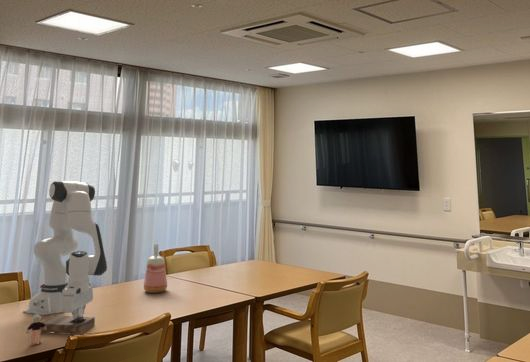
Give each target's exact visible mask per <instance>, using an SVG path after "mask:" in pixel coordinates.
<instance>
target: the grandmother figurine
mask: <svg viewBox="0 0 530 362" xmlns="http://www.w3.org/2000/svg"><path fill="white" fill-rule="evenodd" d="M40 320H42V316H41V315H40V314H34V315H33V316H32V321H33V322H32V323H31V324H29V326H28V327H27V329H26V331H25V334H29V332H30V339H29V340H30V341H29V342H30V343H29V345H34V346H35V345H36V344H38V343H41V337H42V336H41V335H42V332H41V329H40V327H43V328H44V330H46V329H47V328H46V326H45V324H44V323H42V322H43V321H40ZM41 344H42V343H41Z"/></svg>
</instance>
